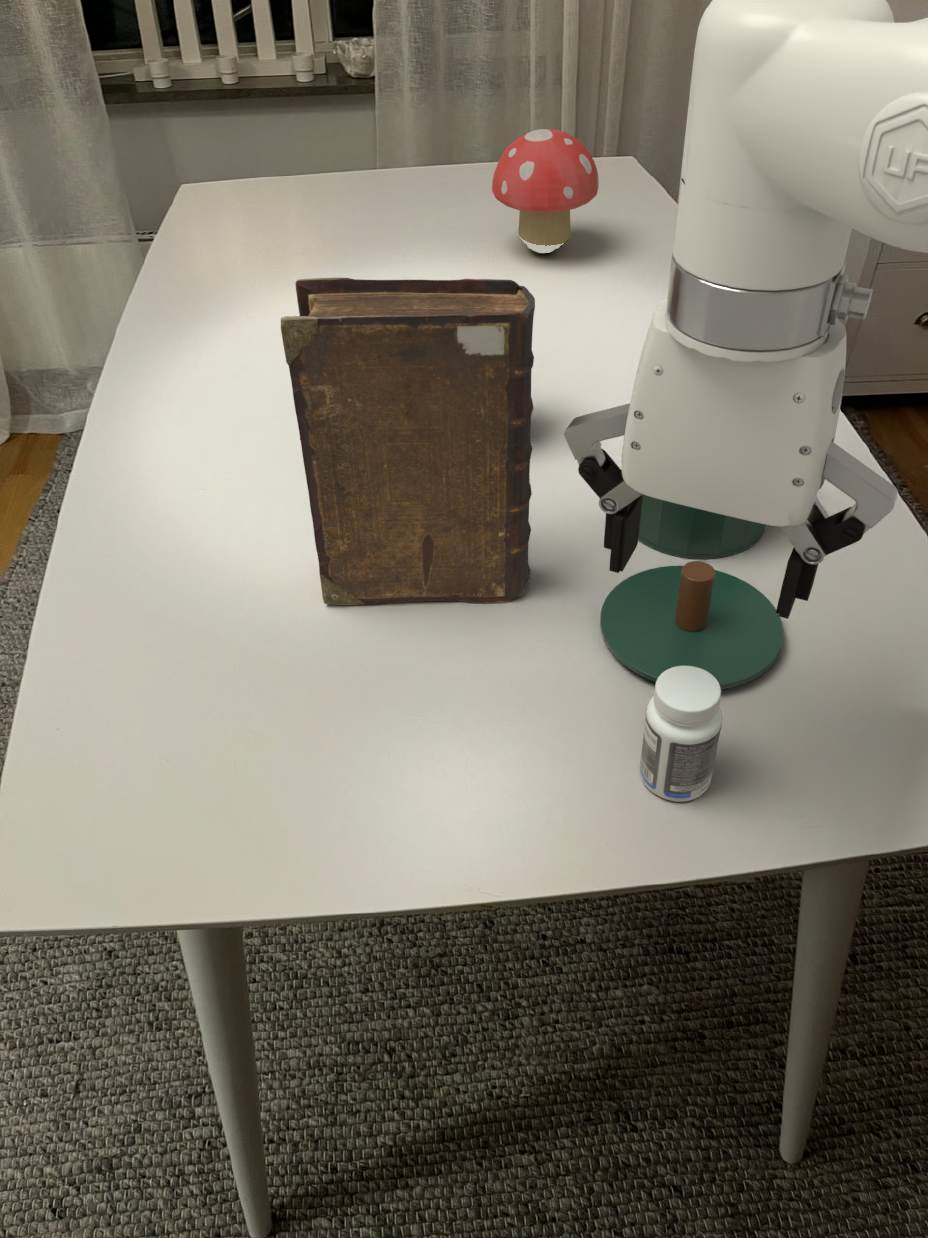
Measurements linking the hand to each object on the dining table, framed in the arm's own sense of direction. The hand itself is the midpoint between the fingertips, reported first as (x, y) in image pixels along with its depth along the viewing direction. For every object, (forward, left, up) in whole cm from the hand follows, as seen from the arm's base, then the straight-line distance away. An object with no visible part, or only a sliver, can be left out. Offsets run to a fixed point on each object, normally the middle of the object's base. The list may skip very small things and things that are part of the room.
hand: (703, 580), depth 58 cm
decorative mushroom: (+40, -76, -16) cm, 88 cm away
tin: (+7, -28, -16) cm, 32 cm away
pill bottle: (0, +1, -16) cm, 16 cm away
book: (+24, -10, -16) cm, 30 cm away
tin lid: (+3, -13, -15) cm, 20 cm away
